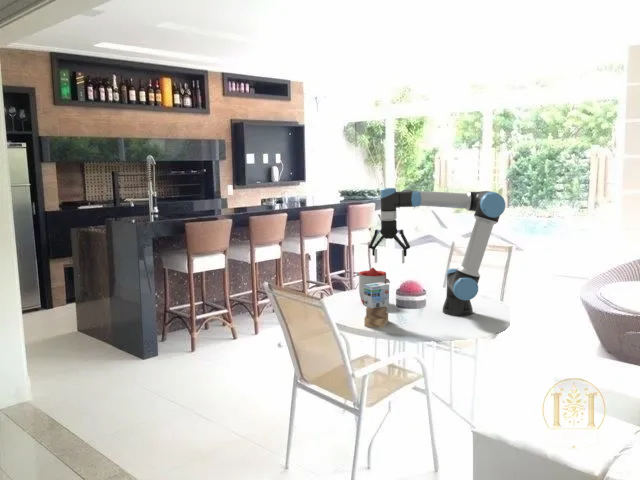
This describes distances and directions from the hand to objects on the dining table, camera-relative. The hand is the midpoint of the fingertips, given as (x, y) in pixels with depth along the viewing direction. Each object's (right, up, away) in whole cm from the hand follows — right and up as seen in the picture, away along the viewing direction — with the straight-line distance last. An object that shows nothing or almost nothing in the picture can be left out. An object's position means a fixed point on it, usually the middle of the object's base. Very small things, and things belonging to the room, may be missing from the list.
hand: (389, 262), depth 288 cm
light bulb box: (-7, -21, -6) cm, 23 cm away
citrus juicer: (-4, -24, +36) cm, 44 cm away
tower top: (-7, -25, -5) cm, 27 cm away
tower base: (-7, -30, -4) cm, 31 cm away
